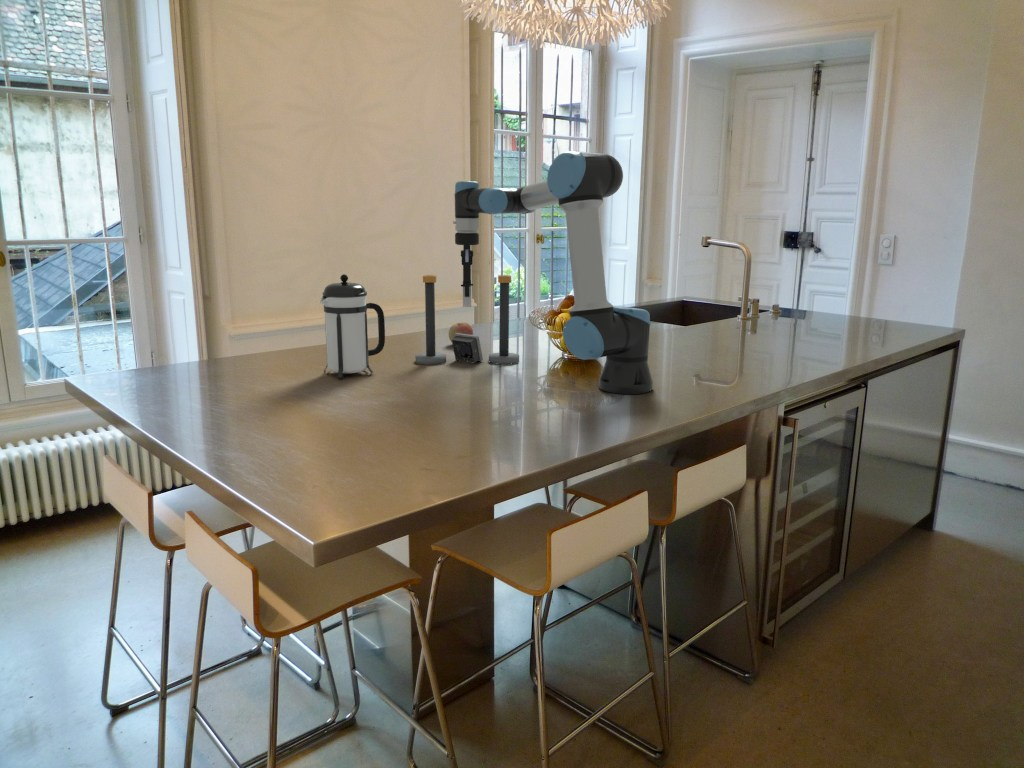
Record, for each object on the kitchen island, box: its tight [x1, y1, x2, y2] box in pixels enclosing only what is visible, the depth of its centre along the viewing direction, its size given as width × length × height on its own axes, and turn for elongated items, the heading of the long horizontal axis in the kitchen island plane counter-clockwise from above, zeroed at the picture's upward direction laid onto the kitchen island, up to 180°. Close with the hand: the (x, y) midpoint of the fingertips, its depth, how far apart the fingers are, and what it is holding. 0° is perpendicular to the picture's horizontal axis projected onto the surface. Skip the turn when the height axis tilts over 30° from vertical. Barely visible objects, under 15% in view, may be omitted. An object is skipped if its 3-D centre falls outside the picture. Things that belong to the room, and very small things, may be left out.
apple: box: [448, 322, 474, 343], centre depth 275 cm, size 9×9×8 cm
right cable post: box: [488, 274, 520, 365], centre depth 246 cm, size 10×10×28 cm
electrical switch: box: [451, 333, 484, 364], centre depth 248 cm, size 9×5×9 cm, turn 57°
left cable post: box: [414, 274, 447, 366], centre depth 245 cm, size 10×10×28 cm
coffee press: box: [319, 273, 386, 380], centre depth 227 cm, size 17×16×30 cm
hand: (467, 306), depth 244 cm, fingers closed
